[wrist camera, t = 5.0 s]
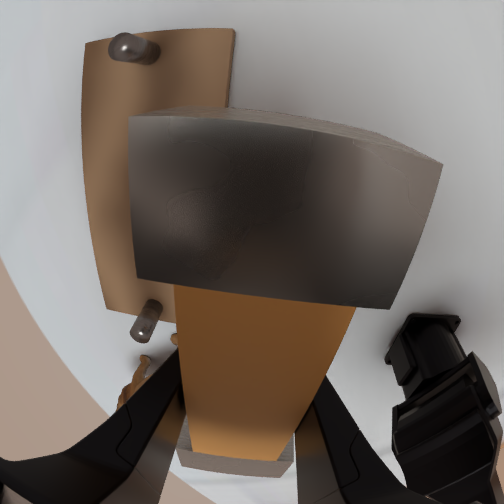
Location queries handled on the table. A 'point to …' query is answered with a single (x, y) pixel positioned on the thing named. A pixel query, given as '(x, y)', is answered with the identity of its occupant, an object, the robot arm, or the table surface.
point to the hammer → (267, 260)
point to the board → (116, 144)
